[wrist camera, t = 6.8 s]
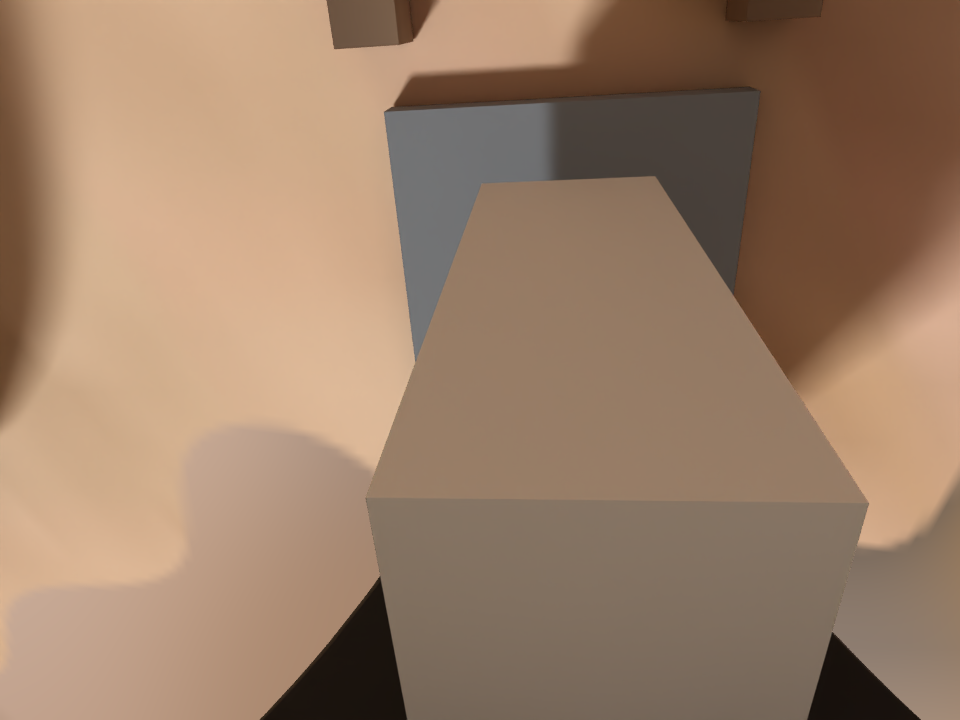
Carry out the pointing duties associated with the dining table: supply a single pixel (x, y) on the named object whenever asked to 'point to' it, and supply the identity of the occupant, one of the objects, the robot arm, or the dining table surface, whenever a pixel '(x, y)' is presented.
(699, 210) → the mat
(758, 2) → the rack
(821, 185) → the dining table surface
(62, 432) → the dining table surface
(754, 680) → the block
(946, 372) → the dining table surface
